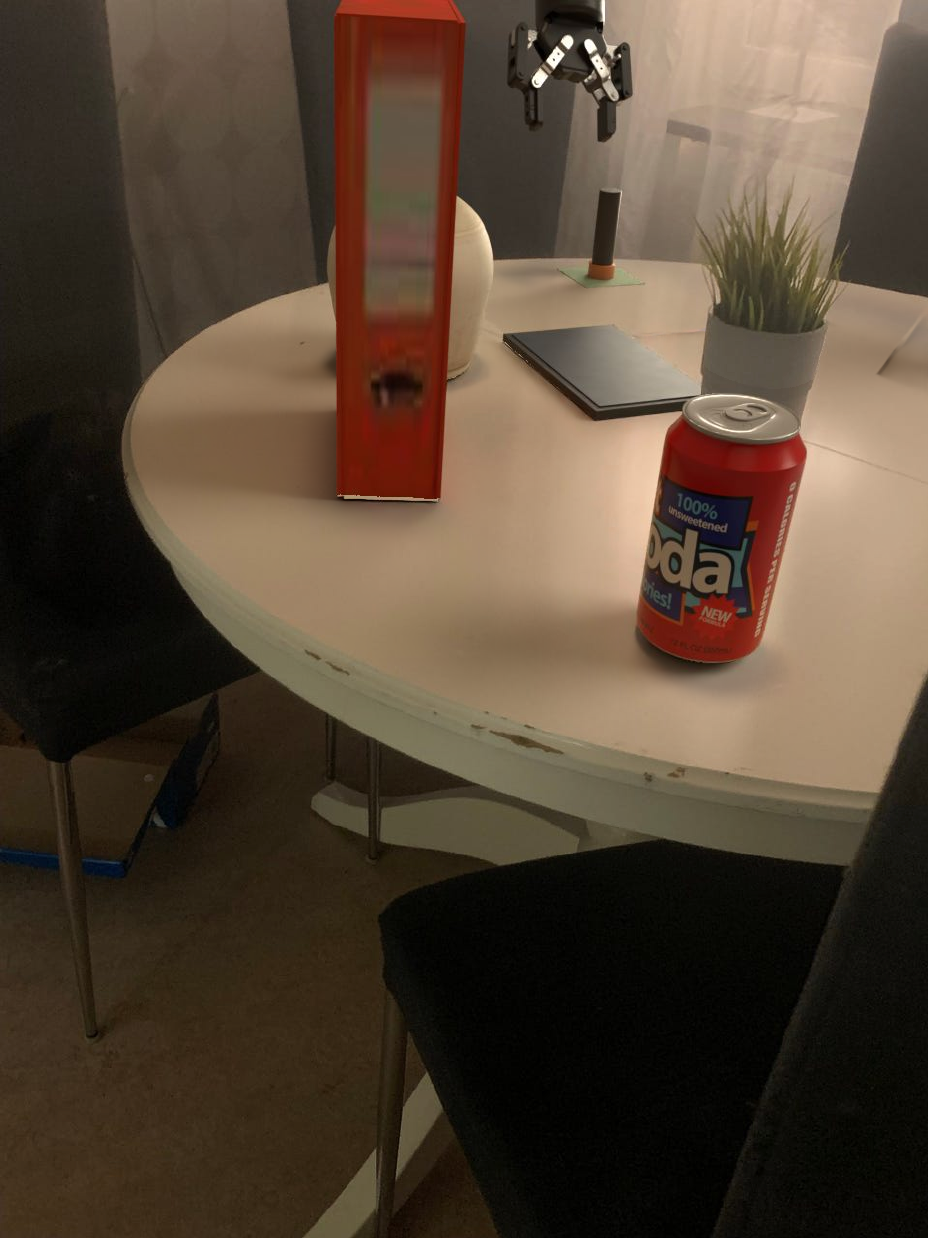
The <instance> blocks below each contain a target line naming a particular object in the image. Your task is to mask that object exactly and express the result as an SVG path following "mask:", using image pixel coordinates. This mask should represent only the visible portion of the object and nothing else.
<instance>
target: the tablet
mask: <svg viewBox="0 0 928 1238" xmlns="http://www.w3.org/2000/svg"><path fill="white" fill-rule="evenodd" d="M503 341H504V342H506V343H507V344H508V345H509V346H510V347H511V348H512V349H513V350H514V351H516V352H517V353H518V354H520V355H521V356H522V357H523V358H524V359H525V360H527V361H528V363H529V364H531V366H533V367H534V368H535V369H536V370H537V371H538V372H537V371H536V370H535V369H534V368H533V367H532V368H533V369H534V370H535V371H536V372H537V373H539V372H540V373H541V374H542V375H543V376H544V377H545V378H544V377H543V376H542V375H541V374H540V373H539V374H540V375H541V376H542V377H543V378H544V379H546V380H547V381H548V380H549V381H550V382H551V383H552V385H553V384H554V385H555V386H556V387H558V388H559V389H560V390H561V391H562V392H563V393H564V394H565V395H564V394H563V393H562V392H561V391H560V390H559V389H558V390H559V391H560V392H561V393H562V394H563V395H564V396H565V397H566V398H568V397H569V398H570V399H571V400H572V401H571V400H570V399H569V398H568V399H569V400H570V401H571V402H573V403H574V404H575V403H576V404H577V405H578V406H577V405H576V404H575V405H576V406H577V407H578V408H580V409H581V410H582V411H583V412H584V411H585V412H584V413H586V414H587V413H588V414H589V415H590V416H591V417H592V418H591V417H590V416H589V415H588V414H587V415H588V416H589V417H590V418H591V419H593V421H601V420H600V419H603V420H607V419H606V418H611V419H617V418H616V417H619V418H628V417H635V416H636V417H637V416H644V415H653V414H661V413H662V414H663V413H670V412H679V411H680V412H681V411H682V408H683V405H684V404H685V403H686V402H687V401H688V400H690V399H691V398H694V397H696V396H700V394H701V384H702V383H701V382H699V381H698V380H697V379H695V378H694V377H693V376H691V375H689V374H687V372H685V371H684V370H682V369H681V368H679V367H678V366H676V365H675V364H673V363H672V362H670V361H669V360H667V359H666V358H664V357H663V356H661V355H660V354H658V353H657V352H656V351H654V350H652V349H651V348H650V347H648V346H647V345H645V344H644V343H643V342H641V341H639V340H638V339H636V338H635V337H633V336H632V335H631V334H629V333H627V332H626V331H624V330H623V329H622V328H621V327H619V326H617V325H615V324H601V325H592V326H589V325H588V326H579V327H567V328H556V329H541V330H531V331H520V332H519V331H518V332H507V333H503V334H502V342H503ZM512 349H511V350H512ZM513 350H512V351H513ZM514 351H513V352H514ZM528 363H527V364H528ZM529 364H528V365H529ZM531 366H530V367H531ZM549 381H548V382H549ZM550 382H549V383H550ZM551 383H550V384H551ZM554 385H553V386H554ZM555 386H554V387H555ZM556 387H555V388H556ZM604 418H605V419H604ZM619 418H618V419H619Z"/></svg>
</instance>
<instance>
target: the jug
mask: <svg viewBox="0 0 928 1238" xmlns="http://www.w3.org/2000/svg"><path fill="white" fill-rule="evenodd" d="M486 229H487V228H486V226H485V223H484V222H483V221H482V218H481V217H480V216H479V214H478V213H477V212H476V211H475V210H474V209H473V208H472V206H470V205H469V204H468V203H467V202H466V201H464V200H463V199H462V198H461V197H459V196H458V195H457V199H456V218H455V237H454V256H453V275H452V293H451V312H450V331H449V350H448V369H447V379H449V378H452V377H455V376H458V375H460V374H461V375H463V374H464V373H465V372H466V371H468V369H469V367H470V364H471V360H472V359H473V357H474V354H475V351H476V348H477V345H478V342H479V338H480V334H481V331H482V326H483V324H484V318H485V314H486V310H487V306H488V301H489V298H490V294H491V289H492V285H493V278H494V255H493V248H492V245H491V244H492V243H491V241H490V236H489V234H488V232H487V230H486ZM326 261H327V262H326V273H327V281H328V288H329V293H330V297H331V304H332V309H333V314H334V318H335V321H336V246H335V226H334V227H333V230H332V232H331V236H330V239H329V243H328V249H327V260H326ZM463 372H464V373H463ZM462 373H463V374H462ZM461 375H460V376H461ZM458 377H459V376H458Z"/></svg>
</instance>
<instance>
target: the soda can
mask: <svg viewBox="0 0 928 1238" xmlns="http://www.w3.org/2000/svg"><path fill="white" fill-rule="evenodd" d="M801 428H802V420H801V419H800V417H799V416H798V415H797V413H795V412H794V411H793V410H792V409H790V408H789V407H786V406H785V405H783V404H780V403H779V402H775V401H773V400H770V399H766V398H763V397H761V396H760V397H759V396H755V395H749V394H745V393H744V394H743V393H733V392H714V393H712V394H705V395H700V396H696V397H694V398H691V399H690V400H688V401H687V402H686V403H685V404H684V405H683V408H682V410H681V415H679V417H677V419H676V420H675V421H673V423H671V424H670V425H669V426H668V428H667V430H666V432H665V436H664V442H663V447H662V452H661V460H660V466H659V472H658V478H657V483H656V484H657V485H656V488H655V497H654V502H653V503H654V504H653V508H652V514H651V520H650V527H649V532H648V533H649V534H648V539H647V544H646V545H647V546H646V550H645V551H646V552H645V558H644V564H643V570H642V576H641V580H640V581H641V583H640V589H639V595H638V600H637V607H636V624H637V627H638V629H639V630H640V631H639V632H640V633H641V634H642V635H643V636H644V638H645V639H646V640H647V641H648V642H650V643H651V645H653V646H655V647H656V648H658V649H659V650H661V651H663V652H664V653H666V654H669V655H671V656H674V657H676V658H679V659H681V658H682V660H685V659H686V660H685V661H688V660H690V661H689V662H693V661H695V662H694V663H700V662H702V664H722V663H730V662H734V661H738V660H740V659H743V658H746V657H747V656H749V655H751V654H752V653H753V652H755V651H756V650H757V649H758V647H759V646H760V644H761V642H762V640H763V638H764V635H765V630H766V626H767V623H768V618H769V615H770V611H771V606H772V602H773V598H774V594H775V589H776V586H777V582H778V577H779V574H780V570H781V565H782V561H783V557H784V553H785V549H786V545H787V540H788V537H789V532H790V528H791V525H792V520H793V516H794V513H795V507H796V504H797V500H798V496H799V491H800V488H801V483H802V480H803V475H804V471H805V466H806V462H807V456H808V451H807V447H806V444H805V442H804V440H803V438H802V436H801V434H800V430H801Z"/></svg>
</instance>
